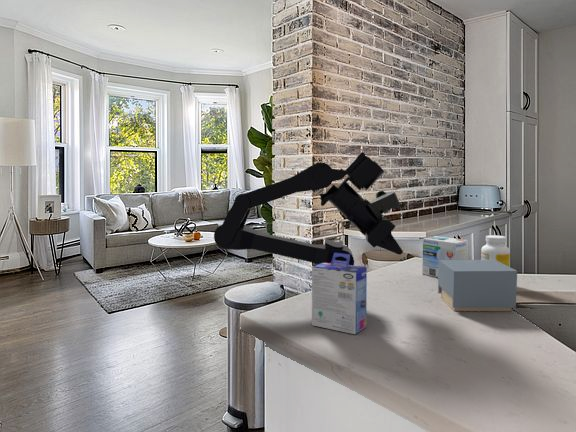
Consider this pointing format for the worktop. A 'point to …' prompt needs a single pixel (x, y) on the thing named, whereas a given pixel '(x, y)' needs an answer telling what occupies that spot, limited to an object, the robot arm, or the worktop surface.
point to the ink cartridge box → (339, 295)
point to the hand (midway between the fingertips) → (401, 253)
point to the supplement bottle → (496, 249)
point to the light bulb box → (442, 252)
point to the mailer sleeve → (478, 283)
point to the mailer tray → (448, 300)
